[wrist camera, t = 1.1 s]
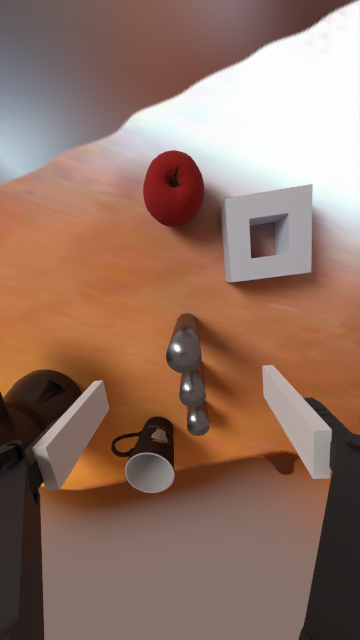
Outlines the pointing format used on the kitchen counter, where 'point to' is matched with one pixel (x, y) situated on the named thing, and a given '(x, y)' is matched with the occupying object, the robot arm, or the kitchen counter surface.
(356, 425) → the kitchen counter surface
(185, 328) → the long pin
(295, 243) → the hole block
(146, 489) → the coffee mug
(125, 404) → the kitchen counter surface
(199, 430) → the short pin
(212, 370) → the kitchen counter surface
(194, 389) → the medium pin
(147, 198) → the apple
